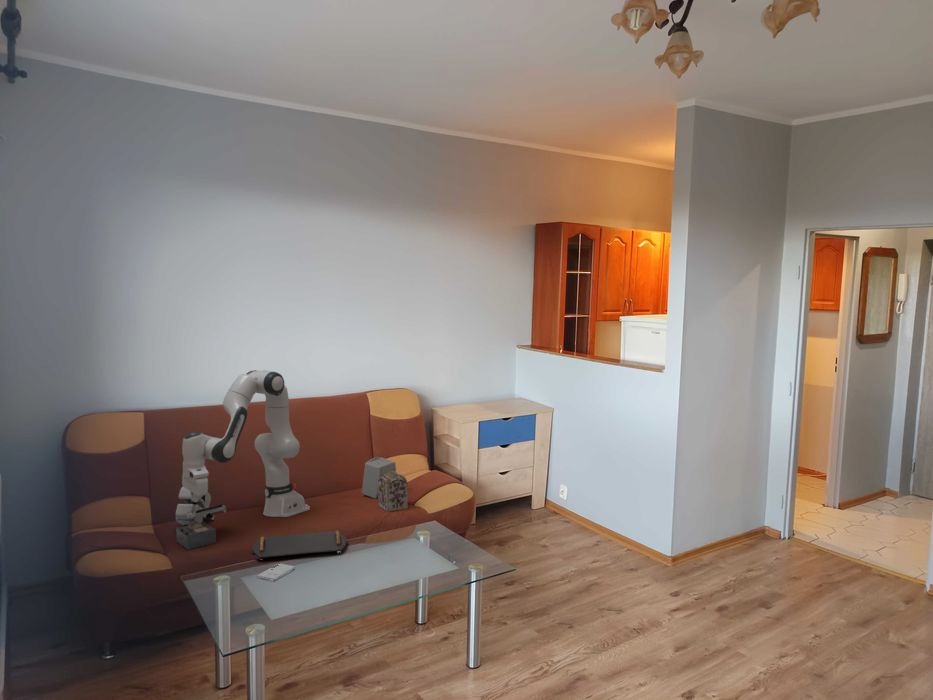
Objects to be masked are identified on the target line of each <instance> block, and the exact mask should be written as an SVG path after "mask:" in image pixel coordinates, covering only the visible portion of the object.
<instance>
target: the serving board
mask: <svg viewBox="0 0 933 700" xmlns="http://www.w3.org/2000/svg"><path fill="white" fill-rule="evenodd" d="M343 541H345V542H343ZM347 543H348V539H347V537H346V536H345V534H343V533H342V532H340V530H333V531H317V532H311V533H308V532H307V533H296V534H294V533H293V534H283V535H270V536H261V537H260V538H259V539H257V541H255V542H254V544H253V545H252V553H253V555H255V556H256V557H257V558H258V561H259V560H260V559H264V560H265V558H270V557H272V558H274V557H283V556H294V555H295V556H296V555H302V554H303V555H305V554H317V553H329V552H330V553H331V552H336V551H340V550H341V551H342V550H344V549H345V547H346V546H347ZM302 550H303V551H302ZM297 551H301V552H297ZM278 555H279V556H278Z"/></svg>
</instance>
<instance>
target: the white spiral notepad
mask: <svg viewBox="0 0 933 700" xmlns="http://www.w3.org/2000/svg"><path fill="white" fill-rule="evenodd" d="M277 564H278V563H277ZM278 565H279V566H277V567H275V568H271V567H270V568H268V569H266V570H264V571H262V572H261V573H259V574H257V575H256V577H257V576H261V577H264V578H268V579H273V580H275V579H276V578H278V577H280V576H281V575H283V574H284V573H286V572H288V571H290V570H291V569H293V568H294V567H295V565H290V564H284V563H280V564H278ZM271 569H273V570H271Z"/></svg>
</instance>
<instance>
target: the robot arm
mask: <svg viewBox="0 0 933 700" xmlns="http://www.w3.org/2000/svg"><path fill="white" fill-rule="evenodd" d="M256 393H257V394H260V395H264V396H265V406H264V407H265V409H264V410H265V411H264V413H265V414H264V415H265V417H264V418H265V420H264V421H265V423H266V425H267V427H269V429H270V431H271V432H265V433H260V434H259V435H258V436H257V437H256V438H255V440H254V449H255V450H256V452H257V453H258V454H259V456H260V457H261V460H262V463H263V466H264V471H265V487H264V496H265V503H264V509H263V513H262V515H264V516H265V517H271V518H279V517H280V518H288V517H291V516H295V515H298V514H300V513H304V512H307V511H310V510H311V507H310V505H308V504H307V503H306V501H305V498H304V495H302V494H300V493H299V492H298V491H296V490H294V489H297V484H296V483H291V482H290V469H289V466H288V464H287V463H286V462H285V460H284V459H293V458H295V457H296V456H297V455H298V454H299V451H300V450H301V449H300V447H301V445H300V441H299V440H298V439H297V438H296V436H295V435H294V432H293V431H292V428H291V424H290V404H289V403H290V400H289V393H288V388H287V386H286V385H285V379H284V377H283V375H282V374H281V373H279V372H276V371H271V370H256V369H254V370H249V371H248V372H247V373H242V374H240V375H238V376H237V378H236V379H235V380H234V381H233V382H232V384H231V385H230V387H229V389H228V391H227V392H226V394H225V396H224V398H223V401H222V405H223V406H222V407H223V409H224V410H225V412H226V413H227V414H228V415H229V416H230V420H229V421H230V422H229V424H228V428H227V430H226V431H225V434H224V436H223V437H222V438H220V437H215V436H214V437H213V436H210V435H207V434H204V433H203V432H201V431H193V432H189V433H187V434H185V435H184V436H183V439H182V448H181V449H182V451H181V453H182V457H183V461H182V476H181V478H182V479H181V480H182V481H181V484H182V487H184V488H186V489H188V490H189V491H190V494H191V497H192V501H193V502H198V497H199V496H203V495H206V494H207V492H208V493H209V479H208V477H209V475H210V472H209V470H207V467H206V465H205V464H206V462H205V460H207V459H208V460H211V461H215V462H218V463H221V464H226V463H228V462H230V461H232V459H233V458H234V457H235V455H236V453H237V448H238V443H239V439H240V437H241V435H242V432H243V429H244V426H245V424H246V421H247V418H248V407H249V405H250V404H251V401H252V399H253V397H254V395H255V394H256Z"/></svg>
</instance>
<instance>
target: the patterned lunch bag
mask: <svg viewBox="0 0 933 700" xmlns="http://www.w3.org/2000/svg"><path fill="white" fill-rule="evenodd" d="M408 486H409V485H408V480H407V478H406V476H405V475H403V474H399V473H398V472H397V471H396V472H389V473H388V474H387V475H384V476H382V477H381V478H380V479H379V480H378V498H377V499H378V502H377V503H378V506H379V507H380V508H381V509H383V510H384V511H385V512H387V513H388V512H395V511H401V510H402V511H403V510H407V509H408V508H409V507H408V506H409V505H408V503H409V495H408V494H409V487H408Z"/></svg>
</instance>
